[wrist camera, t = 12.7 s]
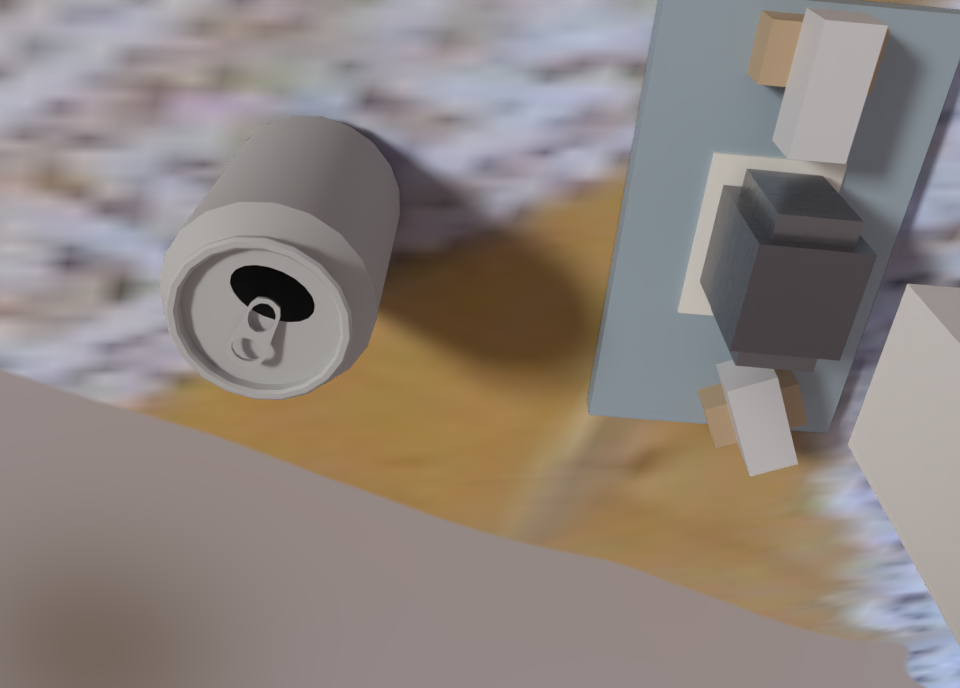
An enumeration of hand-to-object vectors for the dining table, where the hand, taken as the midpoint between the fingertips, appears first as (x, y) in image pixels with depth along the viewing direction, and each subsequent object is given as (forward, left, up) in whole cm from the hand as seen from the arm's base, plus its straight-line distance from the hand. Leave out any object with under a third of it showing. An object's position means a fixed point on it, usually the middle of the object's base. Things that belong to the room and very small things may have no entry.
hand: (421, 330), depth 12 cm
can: (+9, -6, -27) cm, 29 cm away
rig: (+9, +14, -27) cm, 31 cm away
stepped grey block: (+9, +14, -25) cm, 30 cm away
